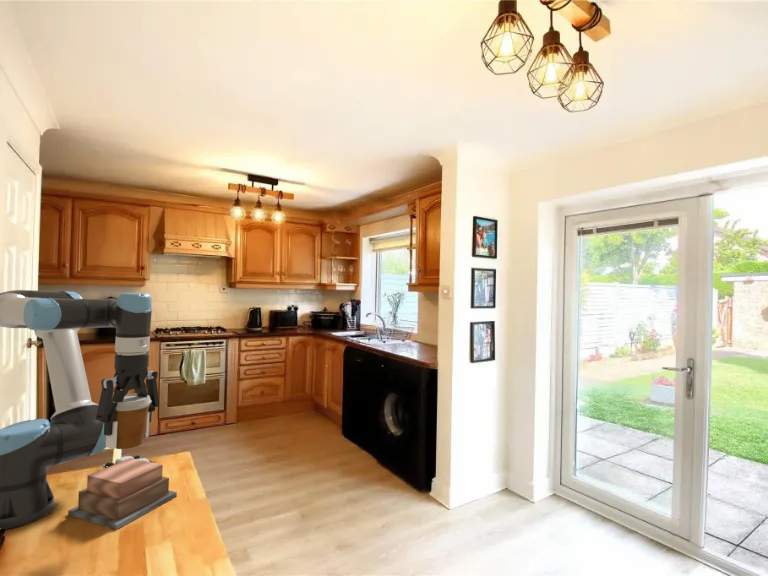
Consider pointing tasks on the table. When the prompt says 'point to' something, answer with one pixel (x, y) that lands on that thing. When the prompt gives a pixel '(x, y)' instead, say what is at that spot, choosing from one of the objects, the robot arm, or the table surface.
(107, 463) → the robot toy
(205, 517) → the table surface
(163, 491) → the pink brown stepped block
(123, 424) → the disposable coffee cup
